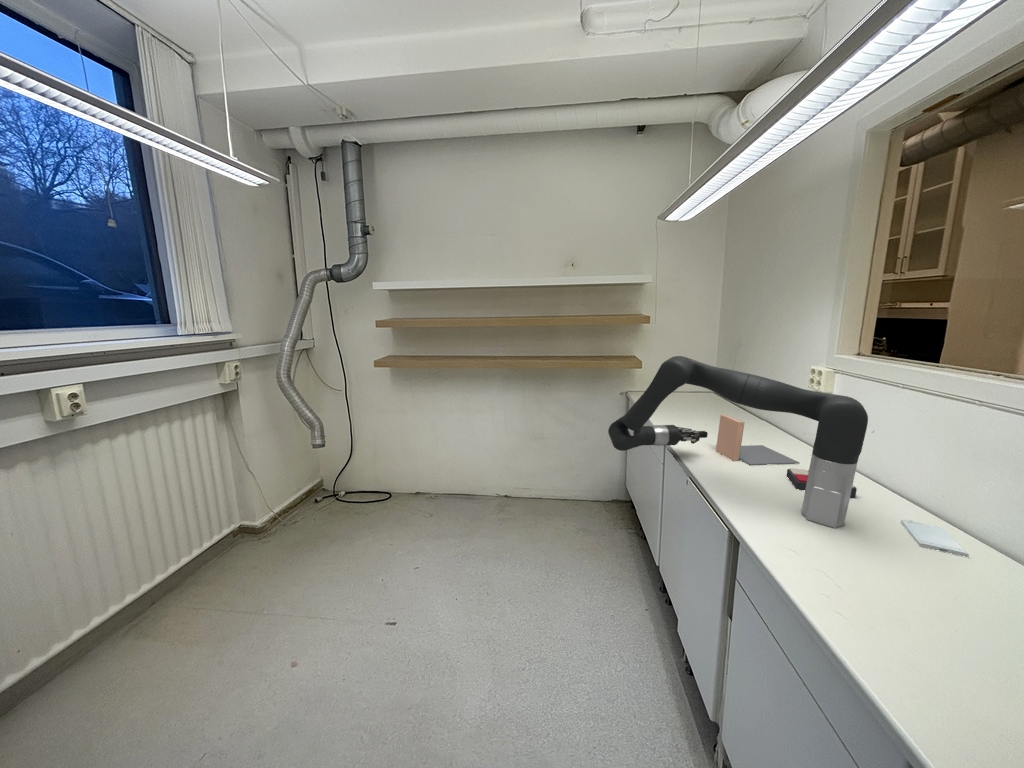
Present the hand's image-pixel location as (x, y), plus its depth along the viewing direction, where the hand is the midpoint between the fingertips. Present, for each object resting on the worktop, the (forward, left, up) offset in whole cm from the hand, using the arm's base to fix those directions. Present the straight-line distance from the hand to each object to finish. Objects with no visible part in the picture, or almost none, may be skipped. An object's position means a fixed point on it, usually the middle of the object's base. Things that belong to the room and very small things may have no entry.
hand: (706, 434), depth 144 cm
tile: (+8, -6, -9) cm, 13 cm away
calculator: (0, -35, -10) cm, 36 cm away
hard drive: (-16, -58, -10) cm, 61 cm away
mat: (+17, -14, -9) cm, 24 cm away
